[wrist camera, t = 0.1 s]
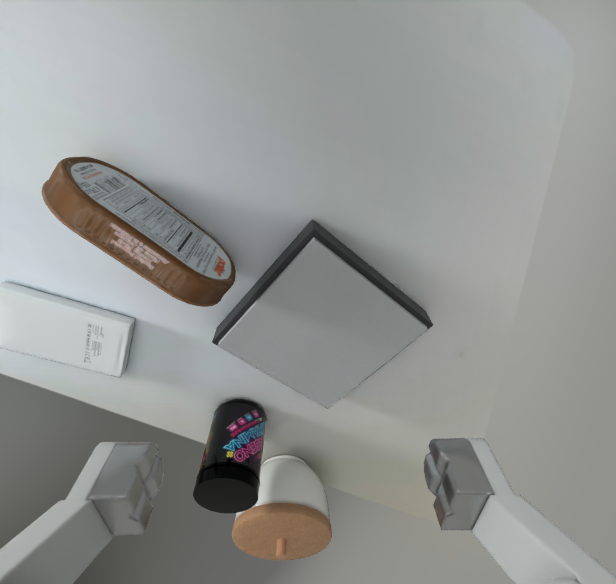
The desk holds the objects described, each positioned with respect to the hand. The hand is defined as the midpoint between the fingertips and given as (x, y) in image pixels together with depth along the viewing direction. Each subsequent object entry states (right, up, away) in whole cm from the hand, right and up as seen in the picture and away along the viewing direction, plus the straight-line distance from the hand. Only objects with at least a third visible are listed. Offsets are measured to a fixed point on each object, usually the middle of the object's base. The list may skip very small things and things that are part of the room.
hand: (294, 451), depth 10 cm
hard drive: (-25, +1, +27) cm, 37 cm away
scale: (+2, +2, +27) cm, 27 cm away
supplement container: (-8, -11, +35) cm, 37 cm away
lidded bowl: (-3, -22, +41) cm, 47 cm away
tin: (-12, +12, +21) cm, 27 cm away
